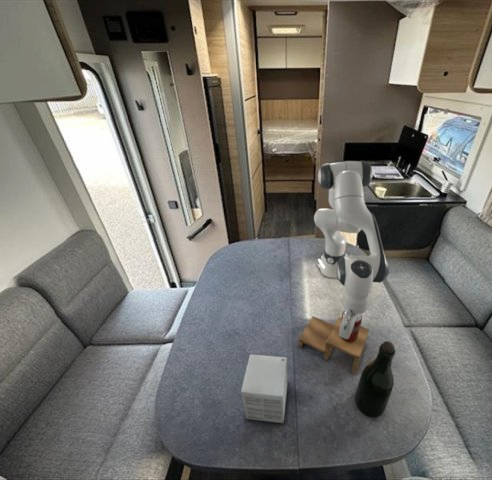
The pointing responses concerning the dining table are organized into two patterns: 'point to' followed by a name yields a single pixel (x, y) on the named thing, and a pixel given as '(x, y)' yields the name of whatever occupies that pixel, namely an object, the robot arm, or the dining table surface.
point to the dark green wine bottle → (376, 383)
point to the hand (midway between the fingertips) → (350, 327)
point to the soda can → (355, 330)
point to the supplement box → (265, 388)
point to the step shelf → (332, 339)
